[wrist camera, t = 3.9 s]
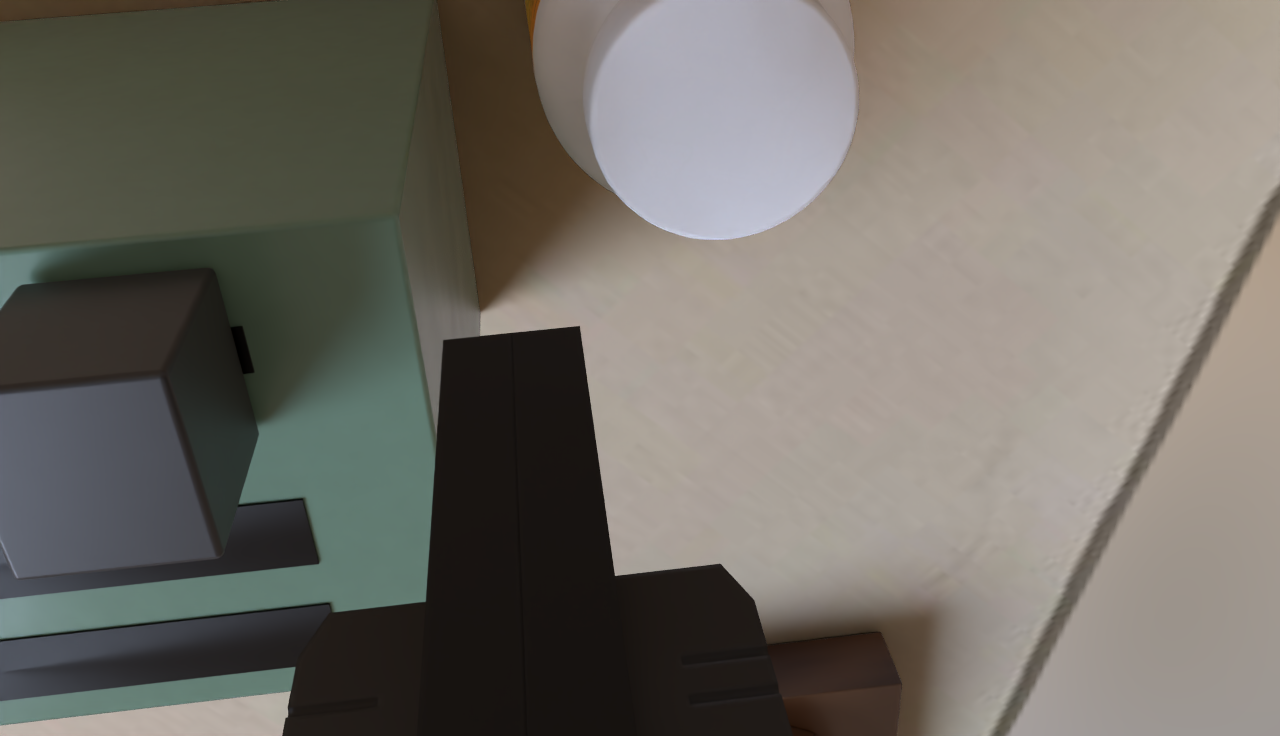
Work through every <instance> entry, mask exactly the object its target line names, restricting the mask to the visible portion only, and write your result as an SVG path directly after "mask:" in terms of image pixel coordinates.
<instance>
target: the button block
mask: <svg viewBox="0 0 1280 736" xmlns="http://www.w3.org/2000/svg"><path fill="white" fill-rule="evenodd" d="M767 649H768V655H770V657H771V660H772V664H773V667H774V671H775V674H776V678H777V681H778V688H779V693H780V694H781V695H782V699H783V702H784V706H785V709H786V713H787V716H788V720H789V723H790V727H791V730H792V734H793V736H897V729H898V719H899V709H900V699H901V689H902V682H901V680H900V677H899V675H898V672H897V670H896V667H895V665H894V663H893V660H892V658H891V655H890V653H889V650H888V648H887V645H886V643H885V640H884V638H883V636H882V633H881V632H876V633H867V634H859V635H850V636H842V637H833V638H825V639H816V640H808V641H800V642H791V643H783V644H774V645H767Z"/></svg>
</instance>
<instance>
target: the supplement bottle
mask: <svg viewBox="0 0 1280 736" xmlns="http://www.w3.org/2000/svg"><path fill="white" fill-rule="evenodd" d="M524 1H525V7H526V14H527V21H528V28H529V35H530V43H531V52H532V60H533V68H534V75H535V80H536V83H537V87H538V92H539V97H540V100H541V103H542V106H543V109H544V112H545V114H546V117H547V119H548V122H549V124H550V126H551V128H552V130H553V131H554V133H555V135H556V137H557V138H558V140H559V142H560V143H561V145H562V146H563V148H564V149H565V150H566V152H567V153H568V155H569V156H570V157H571V158H572V159H573V160H574V161H575V163H576V164H577V165H578V166H579V167H580V168H581V169H582V170H584V171H585V172H586V173H587V174H588V175H589V176H590V177H591V178H592V179H594V180H595V181H596V182H598V183H599V184H600V185H602V186H603V187H604V188H606V189H608V190H609V191H611V192H613V193H615V194H616V195H617V196H618V197H619V198H620V199H621V200H622V201H623V202H624V203H625V204H626V205H627V206H628V207H629V208H630V209H632V210H633V211H634V212H635V213H636V214H638V215H639V216H640V217H642V218H643V219H645V220H646V221H648V222H649V223H651V224H653V225H655V226H657V227H659V228H661V229H663V230H665V231H668V232H671V233H674V234H678V235H681V236H685V237H688V238H695V239H702V240H727V239H734V238H740V237H745V236H749V235H754V234H757V233H760V232H763V231H765V230H768V229H770V228H773V227H775V226H777V225H779V224H781V223H782V222H784V221H786V220H788V219H790V218H791V217H793V216H794V215H795V214H797V213H798V212H800V211H801V210H803V209H804V208H805V207H806V206H808V205H809V204H810V203H811V202H812V201H813V200H814V199H815V198H816V197H817V196H818V195H819V194H820V193H821V192H822V191H823V190H824V189H825V188H826V187H827V185H828V184H829V183H830V182H831V180H832V179H833V177H834V176H835V175H836V173H837V171H838V170H839V168H840V167H841V165H842V163H843V161H844V159H845V157H846V155H847V152H848V150H849V148H850V146H851V143H852V139H853V136H854V133H855V128H856V124H857V119H858V113H859V83H858V75H857V71H856V66H855V62H854V46H855V40H854V26H853V18H852V12H851V7H850V2H849V0H524Z"/></svg>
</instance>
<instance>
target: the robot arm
mask: <svg viewBox="0 0 1280 736" xmlns="http://www.w3.org/2000/svg"><path fill="white" fill-rule="evenodd" d="M282 736H793V734H792V730H791V727H790V723H789V720H788V716H787V713H786V709H785V706H784V702H783V699H782V695H781V694H780V693H779V688H778V681H777V678H776V674H775V671H774V667H773V664H772V660H771V657H770V655H768V649H767V643H766V640H765V636H764V633H763V629H762V626H761V622H760V619H759V615H758V612H757V608H756V605H755V601H754V600H753V598H752V597H751V596H750V595H749V594H748V593H747V592H746V591H745V590H744V589H743V588H742V587H741V585H740V584H739V583H738V582H737V581H736V580H735V579H734V578H733V577H732V576H731V575H730V574H729V573H728V571H727V570H726V569H725V568H724V567H723V566H722V565H721V564H715V565H706V566H697V567H689V568H680V569H672V570H663V571H654V572H646V573H637V574H629V575H620V576H615V573H614V566H613V559H612V552H611V545H610V538H609V531H608V524H607V517H606V510H605V503H604V495H603V488H602V481H601V474H600V467H599V460H598V453H597V446H596V439H595V432H594V424H593V417H592V410H591V403H590V396H589V389H588V382H587V375H586V368H585V361H584V353H583V346H582V339H581V332H580V326H576V327H566V328H556V329H547V330H537V331H527V332H517V333H507V334H497V335H487V336H477V337H467V338H457V339H448V340H443V350H442V365H441V380H440V395H439V410H438V425H437V440H436V455H435V470H434V485H433V500H432V515H431V530H430V545H429V560H428V575H427V590H426V602H419V603H410V604H401V605H393V606H384V607H376V608H367V609H359V610H350V611H341V612H333V613H329V614H328V615H327V617H326V618H325V620H324V621H323V622H322V624H321V625H320V627H319V628H318V630H317V631H316V632H315V634H314V635H313V637H312V638H311V639H310V641H309V642H308V644H307V645H306V647H305V648H304V649H303V651H302V652H301V654H300V655H299V657H298V658H297V662H296V668H295V673H294V678H293V683H292V688H291V694H290V699H289V704H288V718H286V719H285V725H284V730H283V735H282Z"/></svg>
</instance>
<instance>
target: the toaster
mask: <svg viewBox="0 0 1280 736" xmlns="http://www.w3.org/2000/svg"><path fill="white" fill-rule="evenodd" d="M208 267H209V268H213V270H214V271H215V273H216V276H217V279H218V283H219V287H220V291H221V294H222V298H223V302H224V305H225V309H226V313H227V316H228V320H229V324H230V328H231V331H232V335H233V339H234V342H235V346H236V350H237V353H238V357H239V361H240V365H241V368H242V372H243V376H244V379H245V383H246V387H247V390H248V394H249V398H250V402H251V405H252V409H253V413H254V416H255V420H256V424H257V427H258V431H259V437H258V440H257V444H256V447H255V450H254V454H253V457H252V460H251V464H250V467H249V470H248V474H247V477H246V480H245V484H244V487H243V490H242V494H241V497H240V500H239V504H238V507H237V510H236V514H235V517H234V520H233V524H232V527H231V530H230V534H229V537H228V540H227V544H226V547H225V550H224V554H223V555H222V556H221V557H220V558H217V559H210V560H201V561H192V562H183V563H174V564H165V565H156V566H146V567H137V568H128V569H119V570H110V571H101V572H92V573H82V574H73V575H64V576H55V577H46V578H37V579H28V580H18V579H16V578H15V577H14V576H13V574H12V572H11V569H10V567H9V565H8V563H7V560H6V558H5V556H4V554H3V551H2V549H1V547H0V725H8V724H17V723H25V722H34V721H42V720H51V719H59V718H68V717H76V716H85V715H93V714H102V713H110V712H119V711H127V710H136V709H144V708H153V707H161V706H170V705H178V704H187V703H195V702H204V701H212V700H220V699H229V698H237V697H246V696H254V695H263V694H271V693H280V692H288V691H291V688H292V683H293V678H294V673H295V668H296V662H297V658H298V657H299V655H300V654H301V652H302V651H303V649H304V648H305V647H306V645H307V644H308V642H309V641H310V639H311V638H312V637H313V635H314V634H315V632H316V631H317V630H318V628H319V627H320V625H321V624H322V622H323V621H324V620H325V618H326V617H327V615H328V614H329V613H333V612H341V611H350V610H359V609H367V608H376V607H384V606H393V605H401V604H410V603H419V602H426V590H427V575H428V560H429V545H430V530H431V515H432V500H433V485H434V470H435V455H436V440H437V425H438V410H439V395H440V380H441V365H442V350H443V340H448V339H457V338H467V337H477V336H480V308H479V301H478V294H477V287H476V279H475V272H474V265H473V258H472V251H471V243H470V236H469V229H468V222H467V214H466V207H465V200H464V193H463V186H462V178H461V171H460V164H459V157H458V150H457V142H456V135H455V128H454V121H453V114H452V106H451V99H450V92H449V85H448V77H447V70H446V63H445V56H444V49H443V41H442V34H441V27H440V20H439V13H438V5H437V0H278V1H265V2H252V3H239V4H226V5H213V6H200V7H187V8H174V9H161V10H148V11H135V12H121V13H108V14H95V15H82V16H69V17H56V18H43V19H30V20H17V21H4V22H0V309H1V308H2V306H3V305H4V304H5V302H6V301H7V300H8V299H9V297H10V296H11V295H12V293H13V292H14V291H15V289H16V288H17V287H19V286H20V285H24V284H34V283H44V282H55V281H66V280H77V279H88V278H99V277H110V276H121V275H131V274H142V273H153V272H164V271H175V270H186V269H197V268H208Z"/></svg>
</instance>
